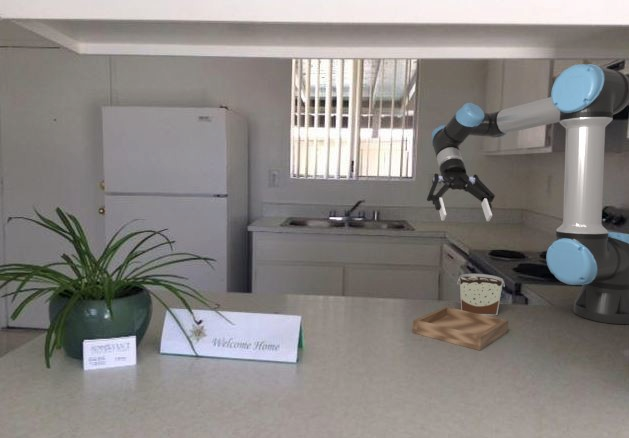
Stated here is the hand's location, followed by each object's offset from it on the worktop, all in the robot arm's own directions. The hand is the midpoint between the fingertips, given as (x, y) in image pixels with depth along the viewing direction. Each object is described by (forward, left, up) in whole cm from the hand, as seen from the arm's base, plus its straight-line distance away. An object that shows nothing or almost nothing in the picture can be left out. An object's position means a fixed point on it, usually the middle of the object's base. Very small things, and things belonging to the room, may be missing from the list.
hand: (466, 218), depth 145 cm
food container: (-7, +7, -25) cm, 27 cm away
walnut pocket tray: (-12, +27, -25) cm, 39 cm away
